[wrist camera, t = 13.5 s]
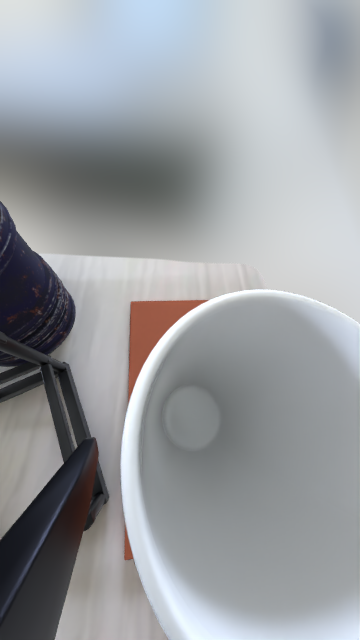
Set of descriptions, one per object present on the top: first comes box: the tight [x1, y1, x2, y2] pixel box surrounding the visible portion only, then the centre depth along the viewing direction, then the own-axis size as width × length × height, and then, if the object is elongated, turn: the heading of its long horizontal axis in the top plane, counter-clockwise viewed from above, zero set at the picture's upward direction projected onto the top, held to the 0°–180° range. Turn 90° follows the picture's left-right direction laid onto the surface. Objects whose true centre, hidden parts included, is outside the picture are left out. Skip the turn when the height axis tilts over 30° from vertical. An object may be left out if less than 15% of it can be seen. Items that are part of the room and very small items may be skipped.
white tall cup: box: [121, 290, 360, 640], centre depth 10 cm, size 7×7×15 cm
